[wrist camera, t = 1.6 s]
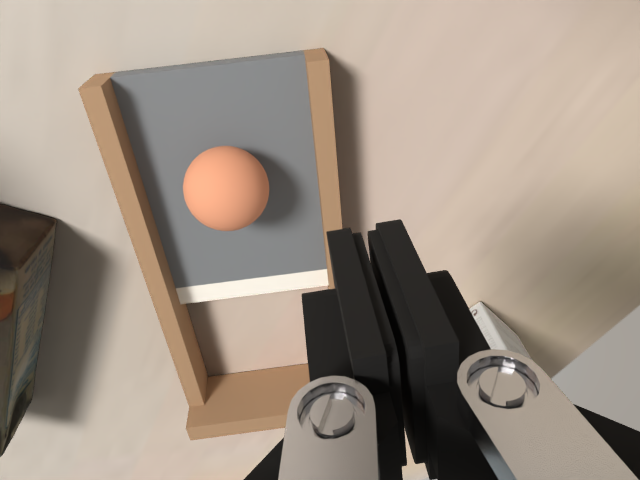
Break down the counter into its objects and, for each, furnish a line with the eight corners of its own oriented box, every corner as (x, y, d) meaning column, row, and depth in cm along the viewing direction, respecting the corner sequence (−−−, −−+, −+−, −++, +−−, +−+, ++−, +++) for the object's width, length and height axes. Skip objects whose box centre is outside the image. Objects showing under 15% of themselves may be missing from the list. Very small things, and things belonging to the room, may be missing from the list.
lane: (94, 74, 29) (65, 99, 25) (323, 48, 29) (333, 68, 25) (198, 390, 43) (190, 440, 39) (350, 370, 44) (359, 417, 40)
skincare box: (438, 328, 42) (492, 455, 32) (479, 298, 41) (549, 421, 31) (479, 362, 45) (541, 489, 35) (519, 335, 43) (595, 458, 33)
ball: (180, 138, 30) (166, 172, 26) (262, 128, 30) (262, 161, 26) (198, 210, 33) (188, 252, 29) (274, 201, 33) (275, 241, 29)
